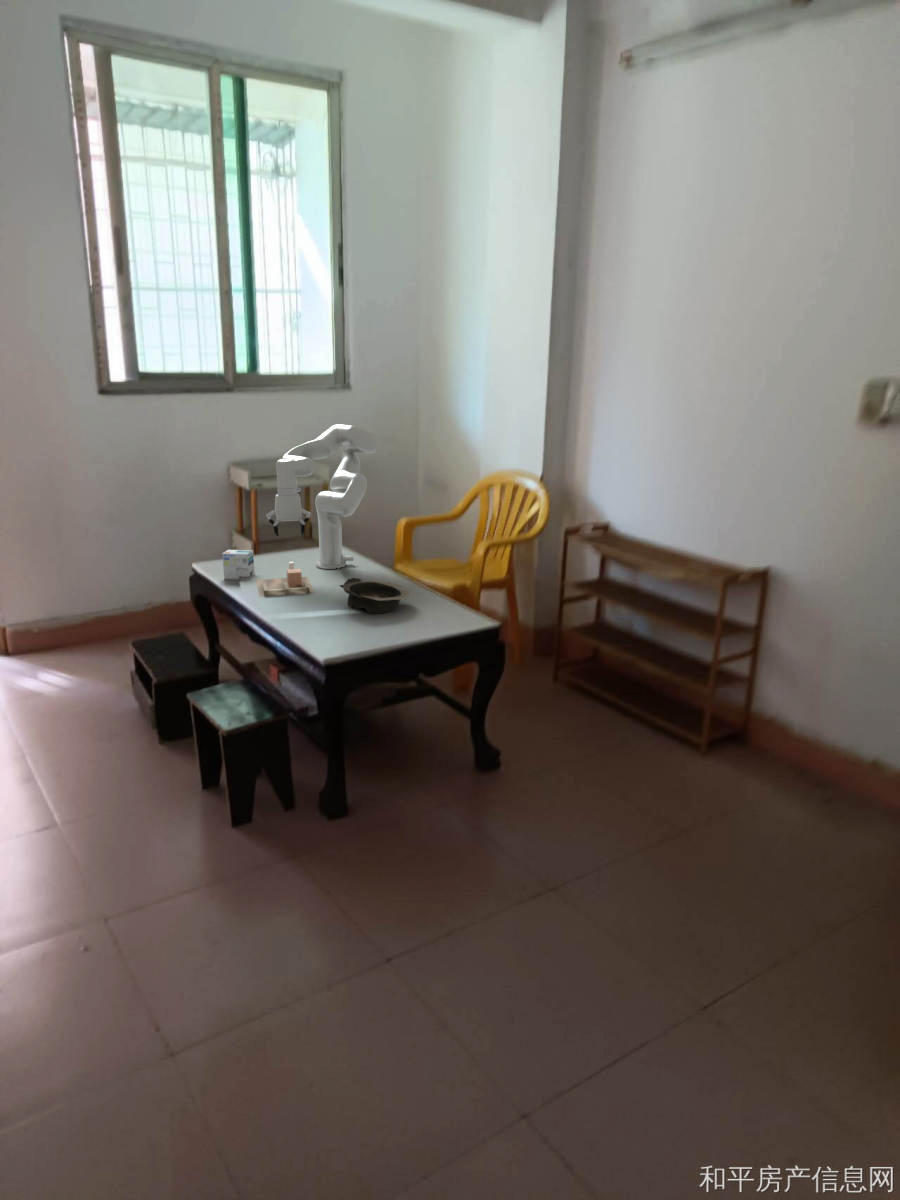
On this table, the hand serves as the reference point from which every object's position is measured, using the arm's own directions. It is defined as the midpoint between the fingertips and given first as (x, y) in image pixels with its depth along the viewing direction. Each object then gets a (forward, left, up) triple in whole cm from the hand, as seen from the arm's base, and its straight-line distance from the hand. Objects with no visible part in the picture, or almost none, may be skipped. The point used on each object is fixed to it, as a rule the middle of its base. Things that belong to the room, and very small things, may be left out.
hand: (289, 534), depth 323 cm
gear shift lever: (0, +8, -17) cm, 18 cm away
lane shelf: (+4, +14, -18) cm, 23 cm away
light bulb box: (+20, -7, -18) cm, 28 cm away
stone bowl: (-26, +42, -19) cm, 53 cm away
